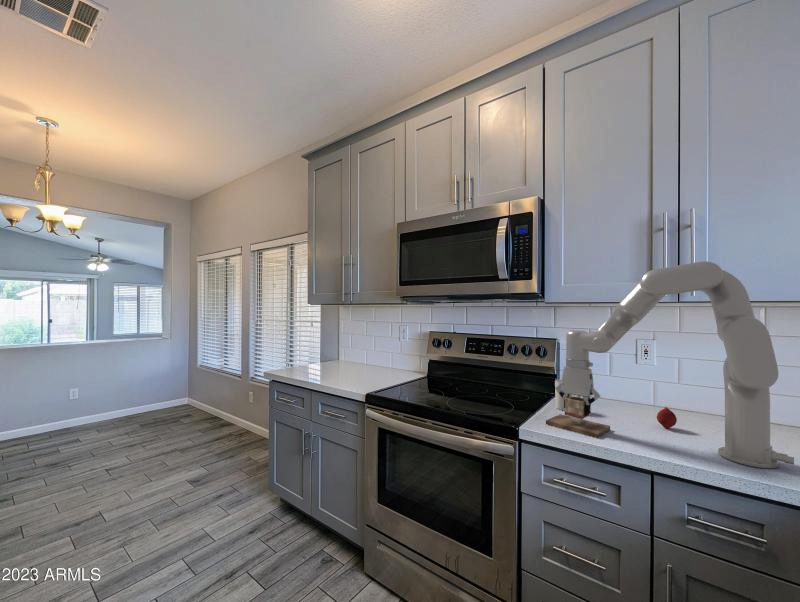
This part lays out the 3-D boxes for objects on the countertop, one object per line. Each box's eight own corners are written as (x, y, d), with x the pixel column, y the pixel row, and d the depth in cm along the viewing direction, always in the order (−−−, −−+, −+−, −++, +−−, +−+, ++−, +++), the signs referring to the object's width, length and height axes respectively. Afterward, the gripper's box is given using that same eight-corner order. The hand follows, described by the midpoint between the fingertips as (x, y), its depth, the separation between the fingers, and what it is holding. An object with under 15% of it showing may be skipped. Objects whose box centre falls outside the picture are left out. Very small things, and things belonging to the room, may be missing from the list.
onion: (677, 428, 129) (677, 406, 129) (675, 432, 125) (675, 410, 125) (658, 424, 133) (658, 403, 133) (655, 428, 129) (655, 406, 129)
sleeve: (589, 415, 129) (589, 399, 129) (582, 419, 125) (582, 402, 125) (571, 411, 134) (571, 395, 134) (564, 414, 130) (564, 398, 130)
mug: (553, 409, 152) (553, 381, 152) (557, 405, 157) (557, 379, 158) (578, 413, 146) (578, 384, 146) (582, 409, 151) (582, 382, 151)
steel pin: (583, 423, 129) (583, 404, 129) (579, 425, 127) (579, 405, 127) (574, 421, 132) (574, 402, 132) (571, 422, 130) (571, 404, 130)
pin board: (610, 430, 127) (610, 425, 127) (597, 438, 119) (597, 433, 119) (560, 417, 140) (560, 414, 140) (545, 424, 132) (545, 420, 132)
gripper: (606, 366, 126) (606, 416, 126) (558, 360, 139) (558, 405, 139) (598, 368, 121) (598, 420, 121) (549, 362, 134) (549, 409, 134)
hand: (576, 412), depth 130 cm, fingers closed on sleeve, 6 cm apart
